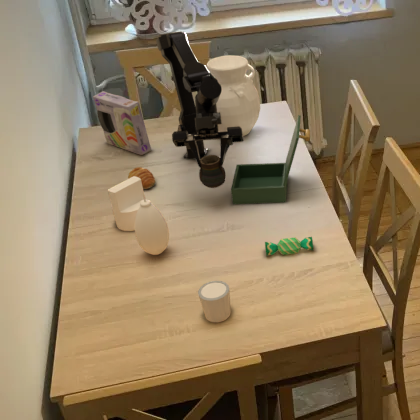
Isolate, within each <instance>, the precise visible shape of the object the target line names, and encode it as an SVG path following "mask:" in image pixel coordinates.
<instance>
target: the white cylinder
mask: <svg viewBox="0 0 420 420" xmlns="http://www.w3.org/2000/svg"><path fill="white" fill-rule="evenodd" d="M230 293H231V291H230V285H229V284H228V283H227V282H225V281H223V280H211V281H208V282H206V283H203V284H202V285H201V286H200V287H199V288H198V290H197V295H198V298H199V301H200V304H201V307H202V310H203V313H204V316H205V318H206V320H207V321H209V322H211V323H221V322H224V321H226V320H227V319H228V318H229V317H230V315H231V312H232V311H231V296H230V295H231V294H230Z"/></svg>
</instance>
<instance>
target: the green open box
mask: <svg viewBox="0 0 420 420" xmlns="http://www.w3.org/2000/svg"><path fill="white" fill-rule="evenodd" d="M285 163H286V162H270V163H269V162H268V163H244V164H243V163H241V164H236V166H235V169H234V170H235V171H234V175H233V178H232V183H231V186H230V195H231V201H232V205H251V204H255V205H256V204H276V203H277V204H278V203H286V202H287V194H288V182H289V178H288V179H287V183H286V186H283V182H284V173H285Z"/></svg>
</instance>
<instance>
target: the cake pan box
mask: <svg viewBox="0 0 420 420" xmlns="http://www.w3.org/2000/svg"><path fill="white" fill-rule="evenodd" d="M92 98H93V102H94V104H95V109H96V113H97V119H98V122H99V124H100V127H101V129H102V130H103V134H104V138H105V142H106V144H108V145H110V146H111V145H112V146H115V147H117V148H120V149H122V150H125V151H128V152H131V153H134V154H137V155H140V156H142V155H145V154H147V153H149V152H151V151H152V147H151V142H150V139H149V135H148V131H147V128H146V124H145V120H144V116H143V113H142V110H141V109H142V108H141V105H140V102H139V101H135V100H132V99H129V98H126V97H125V96H121V95H118V94H113V93H110V92H107V91H104V90H103V91H100V92H99V93H97V94H96V95H93V96H92Z"/></svg>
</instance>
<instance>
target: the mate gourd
mask: <svg viewBox="0 0 420 420" xmlns="http://www.w3.org/2000/svg"><path fill="white" fill-rule="evenodd" d="M200 164H201V168H199V172H198V177H199V181H200V182H201V184H202V185H203V186H204V187H207V188H209V189H216V188H219V187H221V186H223V185H224V184H225V182H226V179H227V178H226V177H227V172H226V171H225V168H224V166H223V165H222V166H221V165H220V155H216V154H206V155H205V156H204V157H203V158H201V159H200Z"/></svg>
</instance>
